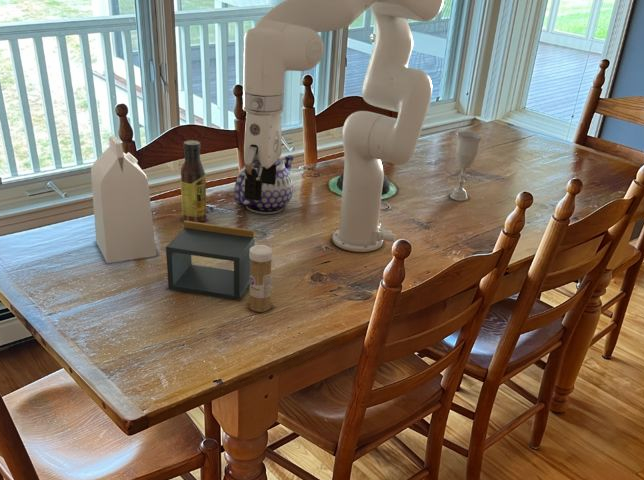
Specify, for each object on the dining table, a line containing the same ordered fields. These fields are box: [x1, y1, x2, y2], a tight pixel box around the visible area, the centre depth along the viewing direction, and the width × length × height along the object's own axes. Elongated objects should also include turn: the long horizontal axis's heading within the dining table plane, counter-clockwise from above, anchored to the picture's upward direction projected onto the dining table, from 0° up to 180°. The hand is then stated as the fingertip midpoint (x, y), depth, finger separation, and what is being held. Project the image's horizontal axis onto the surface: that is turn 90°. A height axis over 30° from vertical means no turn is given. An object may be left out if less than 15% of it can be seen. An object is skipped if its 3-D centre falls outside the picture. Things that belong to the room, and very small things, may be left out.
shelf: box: [165, 220, 255, 301], centre depth 156 cm, size 16×11×12 cm
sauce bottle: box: [180, 140, 207, 223], centre depth 182 cm, size 7×6×20 cm
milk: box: [90, 134, 157, 264], centre depth 164 cm, size 12×12×26 cm
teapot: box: [233, 154, 295, 215], centre depth 192 cm, size 25×15×15 cm, turn 143°
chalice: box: [449, 130, 484, 202], centre depth 204 cm, size 7×7×18 cm
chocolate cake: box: [328, 160, 397, 200], centre depth 211 cm, size 15×19×20 cm
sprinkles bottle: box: [248, 244, 273, 313], centre depth 147 cm, size 5×5×14 cm
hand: (260, 191), depth 143 cm, fingers open, 9 cm apart
